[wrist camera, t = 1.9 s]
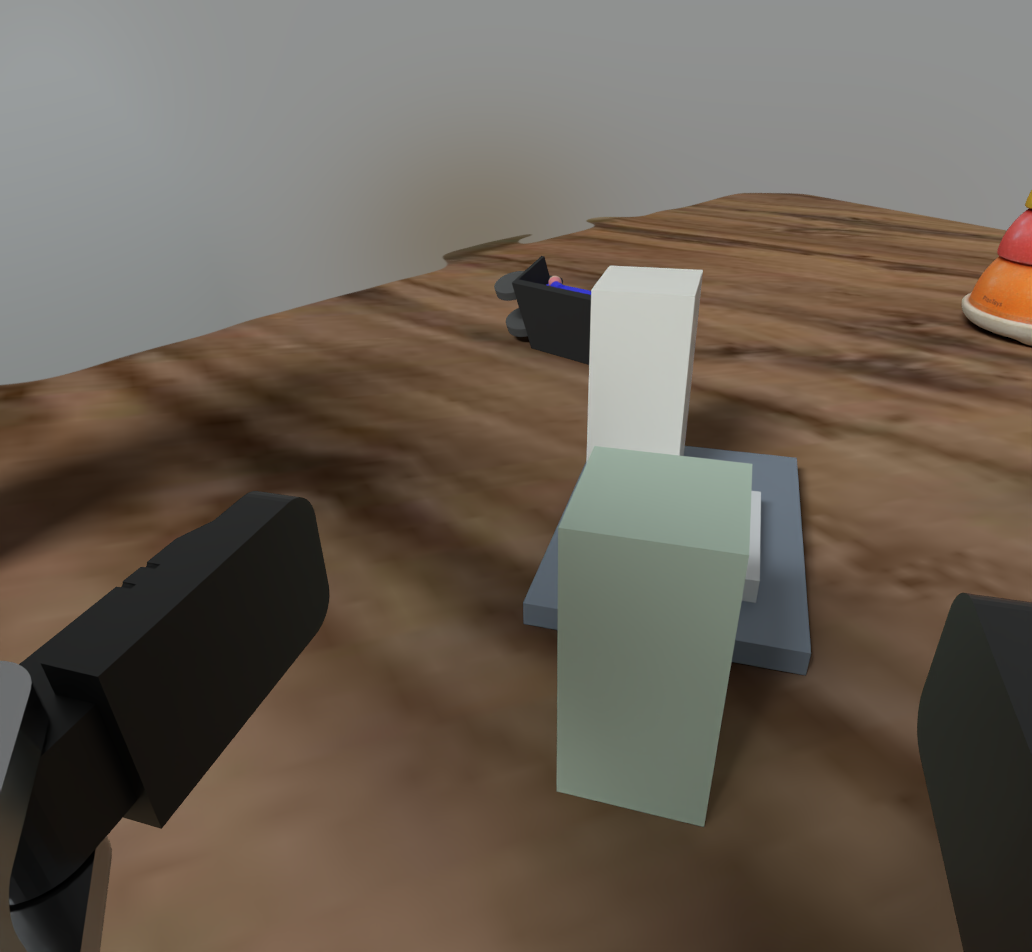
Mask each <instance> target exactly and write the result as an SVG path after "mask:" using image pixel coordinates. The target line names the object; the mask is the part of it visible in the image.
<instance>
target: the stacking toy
mask: <svg viewBox="0 0 1032 952" xmlns="http://www.w3.org/2000/svg"><path fill="white" fill-rule="evenodd" d="M1025 206H1026V207H1027V208H1029V209H1028V210H1026V211H1025V212H1024V213H1023V214H1022V215H1020V217H1018V218H1017V219H1016V220H1015V221H1014V223H1013V224H1012V225H1011V226H1010V227H1009V229H1008V230H1007V232H1006V233H1005V235H1004V236H1003V238H1002V241H1001V243H1000V245H999V248H998V252H997V253H998V255H999V257H998V258H997V259H996V260H995V261H993V262H992V263H991V265H990V266H989V267H988V268H987V269H986V270H985V271H984V273H983V274H982V275H981V277H980V278H979V280H978V281H977V283H976V285H975V287H974V289H973V291H972V293H970V294H968V295H966V296H965V297H964V298H963V299H962V310H963V312H964V314H965V316H966V317H967V318H968V319H969V320H970V321H971V322H973V323H974V324H976V325H977V326H979V327H981V328H983V329H986V330H988V331H991V332H993V333H996V334H999V335H1002V336H1006V337H1009V338H1012V339H1015V340H1018V341H1020V342H1021V343H1024V344H1027V345H1031V346H1032V190H1031V192H1030V194H1029V196H1028V198H1027V201H1026V204H1025Z"/></svg>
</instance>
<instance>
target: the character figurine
mask: <svg viewBox="0 0 1032 952" xmlns="http://www.w3.org/2000/svg"><path fill="white" fill-rule="evenodd" d="M562 284H563V280H562V278H559V277H558V276H549V273H548V269H547V265H546V261H545V257H544V256H541V257H540V258H539V259H538V260H537V261H536V262H534V263H533V264H532V265H531V266H530V267H529V268H528V269H526V270H525V271H517V272H512V273H509V274H507V275H504V276H503V277H501V278H500V279H499V280H498V281H497V282H496V283H495V286H494V288H495V291H496V294H497V297H498V298H499V299H501V300H507V301H508V300H516V299H517V302H518V305H519V308H518V309H516V310H514V311H513V312H511V313H510V314H509V315H508V317H507V319H506V325H507V328H508V331H509V333H510V334H512V335H513V336H517V337H525V336H528V338H529V342H530V345H531V348H533V349H536V350H540V351H543V352H547V353H550V354H554V355H557V356H560V357H564V358H567V359H571V360H574V361H578V362H581V363H585V364H588V365H589V357H590V321H591V291H588V290H584V289H579V288H574V287H569V286H565V285H562Z"/></svg>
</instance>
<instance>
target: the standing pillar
mask: <svg viewBox="0 0 1032 952" xmlns="http://www.w3.org/2000/svg"><path fill="white" fill-rule="evenodd" d="M702 274H703V270H690V269H669V268H648V267H626V266H609V267H608V269H607V270H606V271H605V273H604V274H603V275H602V277H601V278H600V279H599V281H598V282H597V283H596V285H595V286H594V287H593V289H592V290H591V321H590V357H589V393H588V429H587V462H588V459H589V457H590V455H591V453H592V450H593V448H594V446H599V447H608V448H616V449H625V450H634V451H643V452H652V453H661V454H670V455H678V456H684V449H685V439H686V429H687V419H688V410H689V400H690V390H691V381H692V371H693V361H694V351H695V342H696V332H697V322H698V313H699V303H700V293H701V283H702Z"/></svg>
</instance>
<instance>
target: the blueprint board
mask: <svg viewBox="0 0 1032 952" xmlns="http://www.w3.org/2000/svg"><path fill="white" fill-rule="evenodd" d="M684 456H687V457H696V458H705V459H714V460H723V461H731V462H740V463H749V464H752V490H751V518H750V546H749V559H748V565H747V571H746V578H745V584H744V590H743V596H742V602H741V608H740V614H739V620H738V626H737V632H736V638H735V644H734V650H733V656H732V662H735V663H741V664H746V665H752V666H757V667H763V668H768V669H774V670H779V671H785V672H790V673H796V674H801V675H806V673H807V668H808V664H809V660H810V656H811V646H810V632H809V619H808V605H807V592H806V578H805V565H804V551H803V537H802V524H801V510H800V497H799V483H798V470H797V458H792V457H783V456H774V455H764V454H755V453H746V452H737V451H728V450H719V449H710V448H701V447H691V446H685V449H684ZM586 464H587V461H586V463H585V465H584V468H585V466H586ZM584 468H583V470H582V472H581V474H580V477H581V475H582V473H583V471H584ZM580 477H579V479H578V481H577V483H576V486H577V484H578V482H579V480H580ZM576 486H575V488H574V490H573V492H572V495H573V493H574V491H575V489H576ZM572 495H571V497H570V499H569V501H568V503H567V506H566V508H565V510H564V512H563V515H562V517H561V519H560V521H559V524H558V526H557V528H556V530H555V533H554V535H553V537H552V539H551V542H550V544H549V546H548V548H547V551H546V553H545V555H544V557H543V559H542V562H541V564H540V566H539V568H538V571H537V573H536V575H535V577H534V580H533V582H532V584H531V586H530V589H529V591H528V593H527V595H526V598H525V600H524V602H523V619H524V624H528V625H533V626H539V627H544V628H550V629H555V630H558V527H559V525H560V522H561V520H562V518H563V516H564V513H565V511H566V509H567V507H568V504H569V502H570V500H571V498H572Z"/></svg>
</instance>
